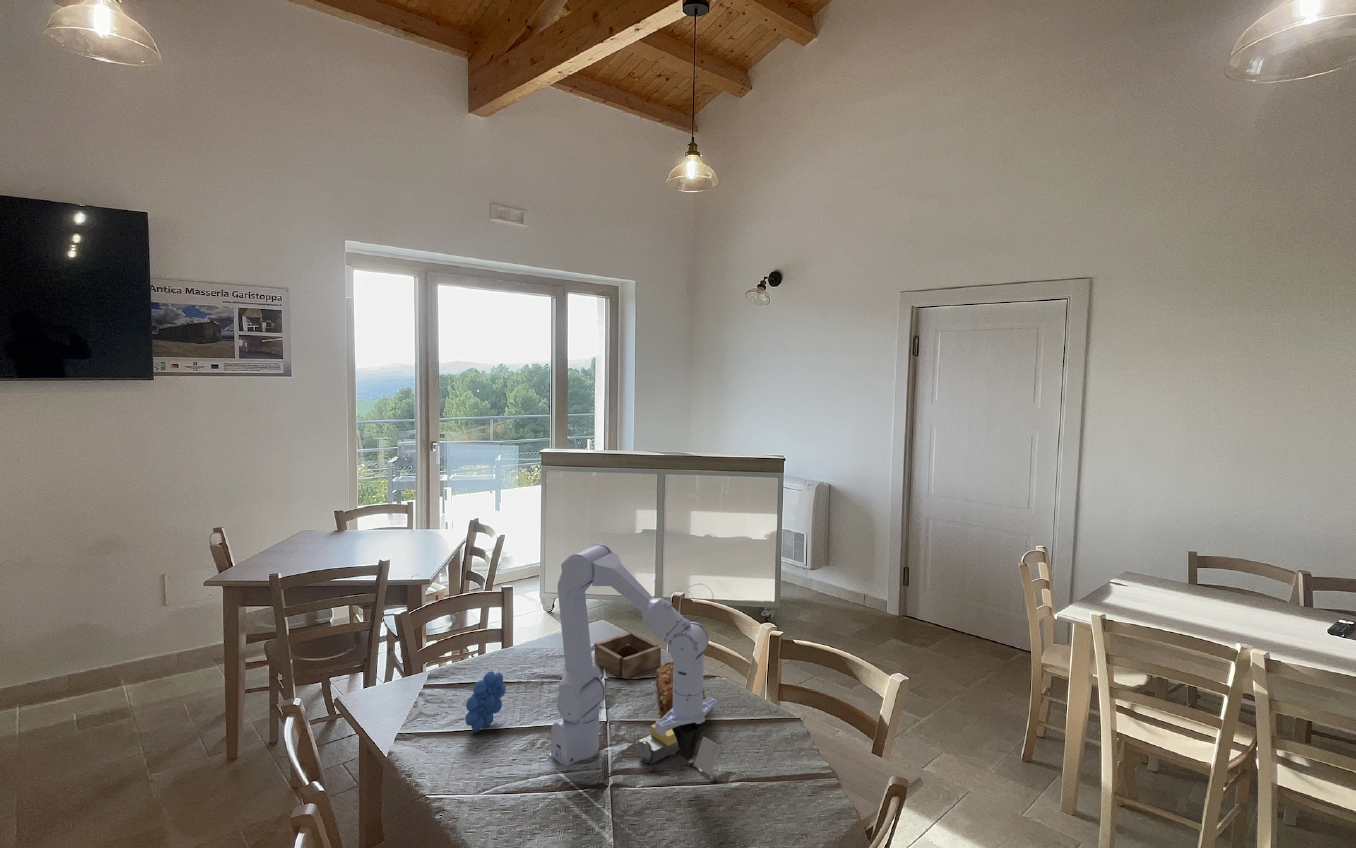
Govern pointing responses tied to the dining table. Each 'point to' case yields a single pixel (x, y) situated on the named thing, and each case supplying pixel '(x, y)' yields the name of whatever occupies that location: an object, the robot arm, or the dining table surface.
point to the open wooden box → (632, 664)
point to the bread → (666, 688)
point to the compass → (627, 650)
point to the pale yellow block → (664, 736)
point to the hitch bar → (658, 751)
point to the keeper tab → (706, 757)
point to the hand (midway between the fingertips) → (686, 756)
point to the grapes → (485, 701)
